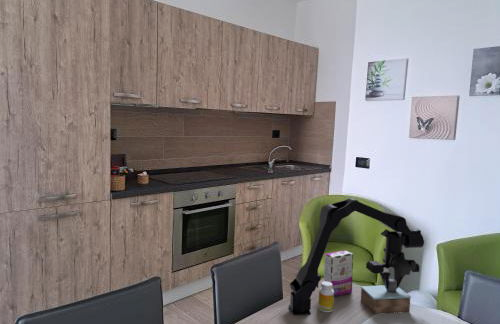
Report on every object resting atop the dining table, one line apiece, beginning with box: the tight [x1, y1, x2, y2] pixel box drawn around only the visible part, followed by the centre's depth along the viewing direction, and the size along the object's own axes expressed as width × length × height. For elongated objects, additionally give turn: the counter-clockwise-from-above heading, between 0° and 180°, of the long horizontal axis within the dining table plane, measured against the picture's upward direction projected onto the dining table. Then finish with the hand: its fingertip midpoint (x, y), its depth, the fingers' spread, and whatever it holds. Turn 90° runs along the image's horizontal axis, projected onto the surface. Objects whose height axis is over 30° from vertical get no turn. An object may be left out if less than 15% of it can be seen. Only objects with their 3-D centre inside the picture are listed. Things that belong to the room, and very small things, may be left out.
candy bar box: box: [323, 250, 354, 298], centre depth 142 cm, size 11×5×16 cm, turn 117°
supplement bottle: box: [317, 280, 335, 313], centre depth 128 cm, size 5×5×10 cm
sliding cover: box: [360, 278, 412, 300], centre depth 131 cm, size 14×10×5 cm
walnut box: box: [360, 288, 411, 315], centre depth 131 cm, size 14×10×5 cm
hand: (391, 288), depth 132 cm, fingers closed on sliding cover, 3 cm apart
